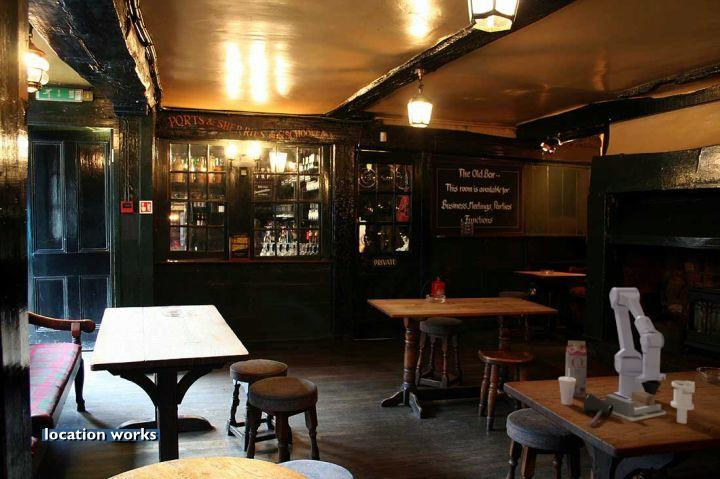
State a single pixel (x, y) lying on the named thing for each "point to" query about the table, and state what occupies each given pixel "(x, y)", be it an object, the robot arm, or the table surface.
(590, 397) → the coffee pot
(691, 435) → the table surface
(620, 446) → the table surface
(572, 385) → the smoothie
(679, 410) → the white stepped post
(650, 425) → the table surface
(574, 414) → the table surface
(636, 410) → the gauge base
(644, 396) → the gauge slider
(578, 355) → the juice carton
